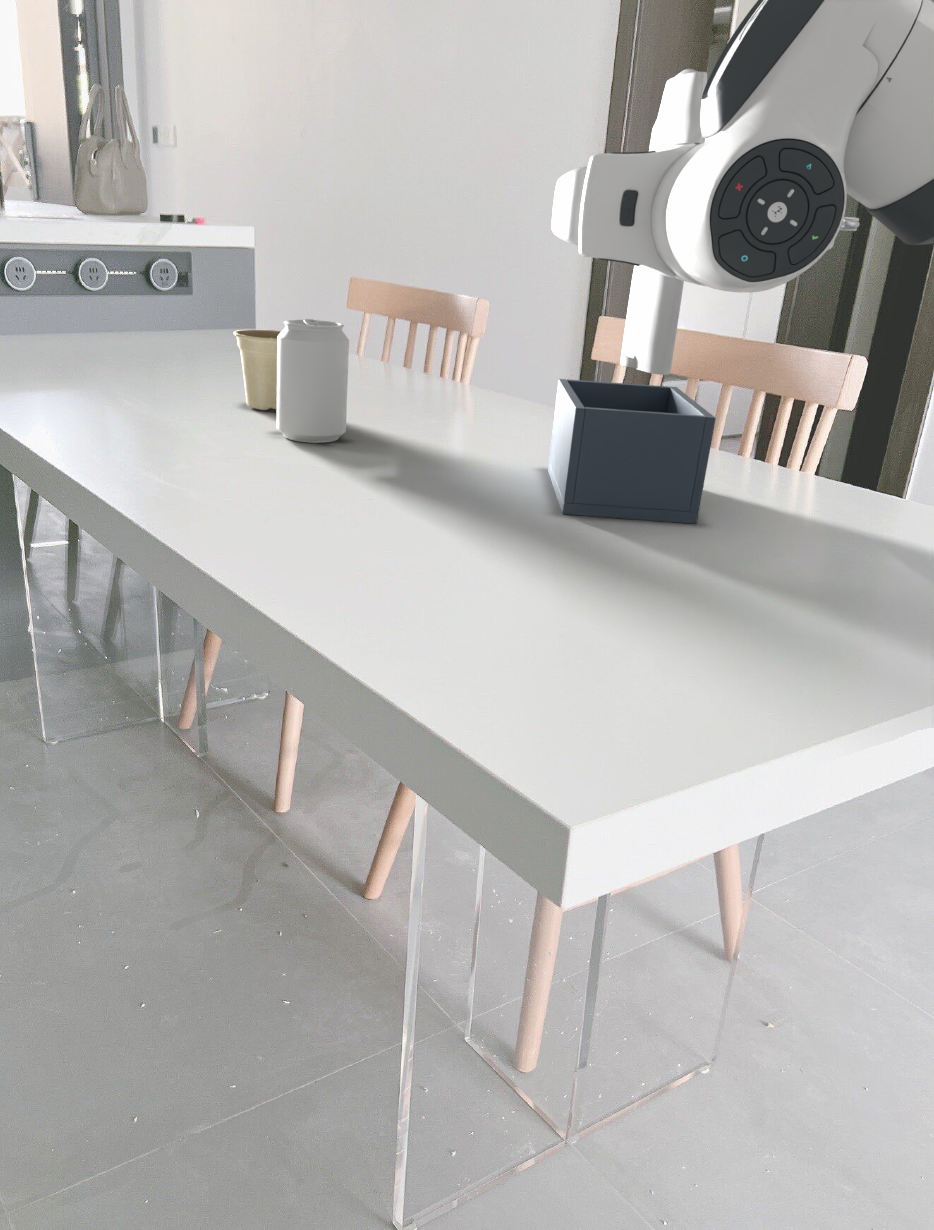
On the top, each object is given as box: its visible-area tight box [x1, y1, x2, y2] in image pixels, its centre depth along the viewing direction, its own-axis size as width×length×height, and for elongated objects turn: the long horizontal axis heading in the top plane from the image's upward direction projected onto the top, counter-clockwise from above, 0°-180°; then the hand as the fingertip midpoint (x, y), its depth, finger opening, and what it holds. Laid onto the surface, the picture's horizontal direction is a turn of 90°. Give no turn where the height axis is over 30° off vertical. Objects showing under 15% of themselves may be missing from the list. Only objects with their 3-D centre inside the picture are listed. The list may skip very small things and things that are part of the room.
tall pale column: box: [619, 68, 708, 376], centre depth 86 cm, size 11×4×22 cm, turn 6°
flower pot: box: [233, 329, 283, 411], centre depth 129 cm, size 9×9×9 cm
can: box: [276, 318, 350, 444], centre depth 113 cm, size 8×8×12 cm
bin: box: [547, 378, 717, 525], centre depth 98 cm, size 12×18×9 cm, turn 177°
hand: (674, 215), depth 84 cm, fingers closed on tall pale column, 2 cm apart
